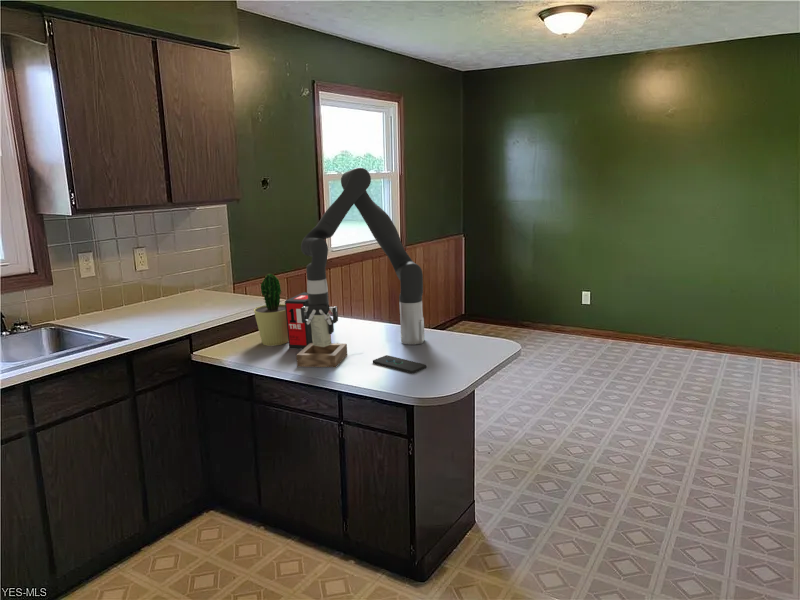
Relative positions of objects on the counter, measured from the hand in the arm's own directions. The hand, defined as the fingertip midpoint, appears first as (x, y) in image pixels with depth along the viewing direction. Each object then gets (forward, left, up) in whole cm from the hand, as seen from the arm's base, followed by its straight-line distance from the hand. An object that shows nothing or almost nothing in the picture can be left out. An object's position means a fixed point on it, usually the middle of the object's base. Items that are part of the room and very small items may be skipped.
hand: (320, 333), depth 228 cm
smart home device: (-30, +4, -11) cm, 33 cm away
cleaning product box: (+14, -22, -11) cm, 28 cm away
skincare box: (0, 0, -5) cm, 5 cm away
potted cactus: (+29, -23, -11) cm, 38 cm away
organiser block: (0, 0, -11) cm, 11 cm away
